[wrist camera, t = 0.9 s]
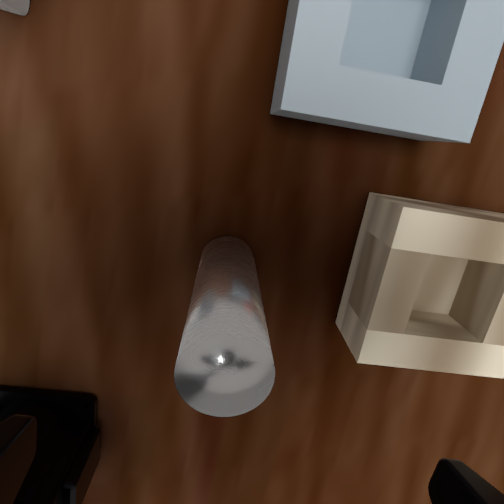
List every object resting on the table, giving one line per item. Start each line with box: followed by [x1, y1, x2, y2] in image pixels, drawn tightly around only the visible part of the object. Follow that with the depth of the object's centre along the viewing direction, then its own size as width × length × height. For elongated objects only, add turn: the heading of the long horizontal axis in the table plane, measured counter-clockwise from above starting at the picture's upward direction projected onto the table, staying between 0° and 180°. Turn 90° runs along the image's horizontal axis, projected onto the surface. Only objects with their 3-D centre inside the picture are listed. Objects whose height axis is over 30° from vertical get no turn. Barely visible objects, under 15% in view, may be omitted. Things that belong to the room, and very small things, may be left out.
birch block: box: [335, 192, 504, 378], centre depth 19 cm, size 8×8×4 cm
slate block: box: [270, 0, 504, 143], centre depth 15 cm, size 8×8×4 cm
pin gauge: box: [174, 236, 275, 417], centre depth 15 cm, size 3×3×10 cm
